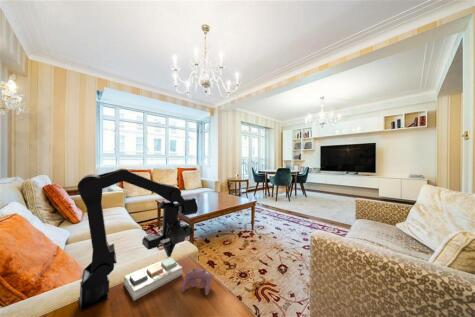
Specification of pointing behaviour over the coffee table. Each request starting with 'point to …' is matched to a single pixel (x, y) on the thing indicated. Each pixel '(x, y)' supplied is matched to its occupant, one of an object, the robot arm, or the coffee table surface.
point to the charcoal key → (138, 277)
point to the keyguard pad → (151, 280)
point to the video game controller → (197, 274)
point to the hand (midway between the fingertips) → (168, 256)
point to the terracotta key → (154, 270)
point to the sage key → (168, 263)
